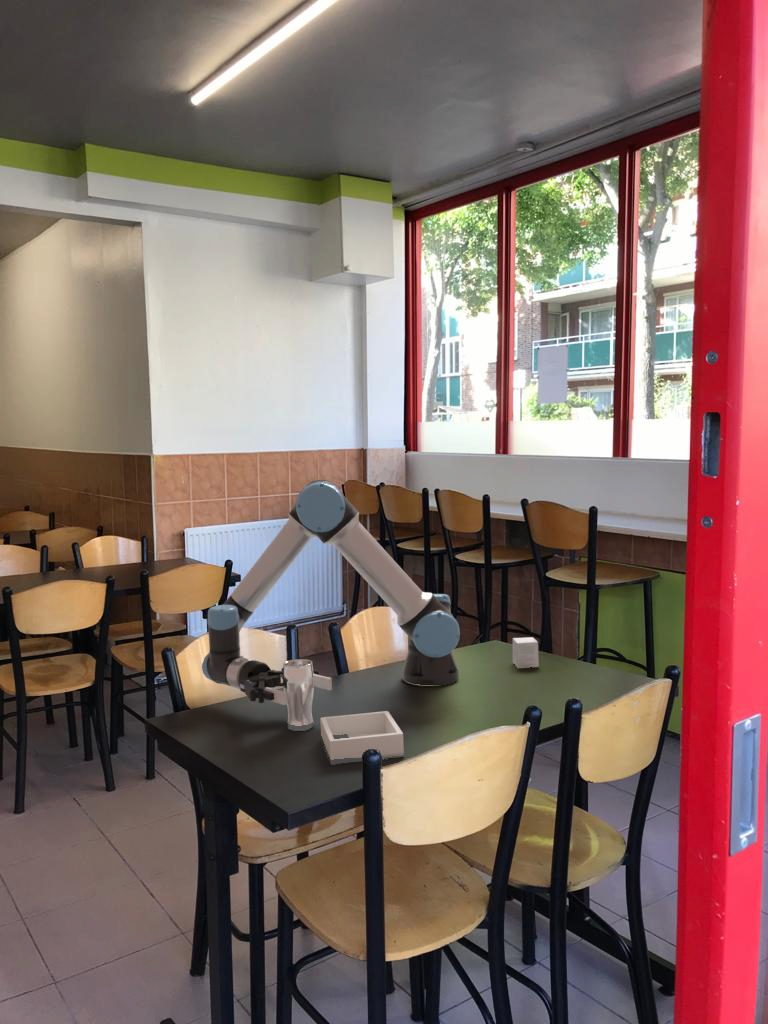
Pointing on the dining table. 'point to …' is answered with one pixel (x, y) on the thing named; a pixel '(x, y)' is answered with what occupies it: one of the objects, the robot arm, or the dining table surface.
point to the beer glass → (299, 690)
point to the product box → (525, 652)
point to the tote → (362, 735)
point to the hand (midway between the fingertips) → (308, 691)
